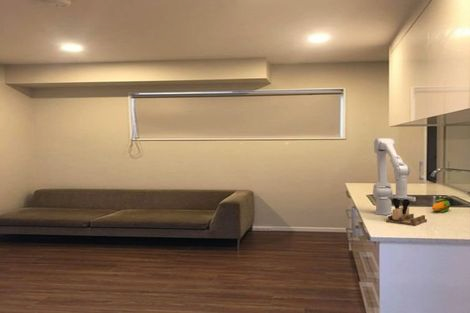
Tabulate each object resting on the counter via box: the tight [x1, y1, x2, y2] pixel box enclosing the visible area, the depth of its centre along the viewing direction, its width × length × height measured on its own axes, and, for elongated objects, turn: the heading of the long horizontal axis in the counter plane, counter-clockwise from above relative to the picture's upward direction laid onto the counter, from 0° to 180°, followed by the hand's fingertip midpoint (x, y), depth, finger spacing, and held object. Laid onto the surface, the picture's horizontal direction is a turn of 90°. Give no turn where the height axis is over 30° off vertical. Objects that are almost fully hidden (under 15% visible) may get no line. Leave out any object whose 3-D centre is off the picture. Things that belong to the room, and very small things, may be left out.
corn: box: [431, 198, 451, 214], centre depth 259 cm, size 7×8×20 cm
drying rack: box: [385, 213, 428, 227], centre depth 229 cm, size 16×15×3 cm
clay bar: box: [391, 206, 410, 220], centre depth 231 cm, size 14×3×5 cm, turn 136°
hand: (401, 213), depth 231 cm, fingers closed on clay bar, 3 cm apart
